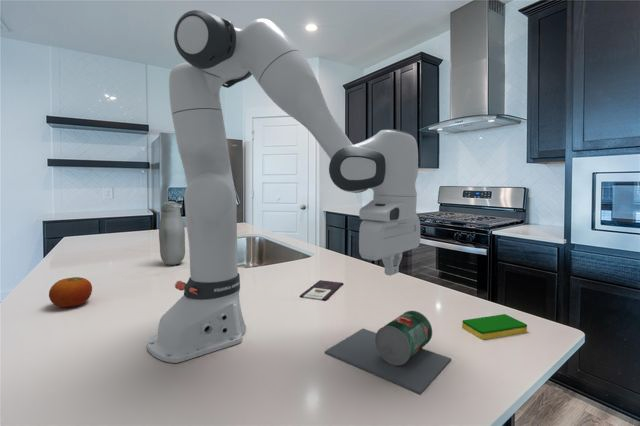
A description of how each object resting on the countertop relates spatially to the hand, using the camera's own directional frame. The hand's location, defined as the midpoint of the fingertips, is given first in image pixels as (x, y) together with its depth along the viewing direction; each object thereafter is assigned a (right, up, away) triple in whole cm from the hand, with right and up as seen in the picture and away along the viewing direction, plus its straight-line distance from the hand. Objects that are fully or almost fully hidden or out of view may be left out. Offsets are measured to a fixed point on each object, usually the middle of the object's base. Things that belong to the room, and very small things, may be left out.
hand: (391, 273), depth 73 cm
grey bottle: (-80, -10, +78) cm, 112 cm away
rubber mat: (-1, -18, 0) cm, 18 cm away
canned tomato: (+6, -13, +4) cm, 15 cm away
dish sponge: (+29, -17, +13) cm, 36 cm away
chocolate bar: (-14, -14, +43) cm, 48 cm away
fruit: (-90, -15, +30) cm, 96 cm away
